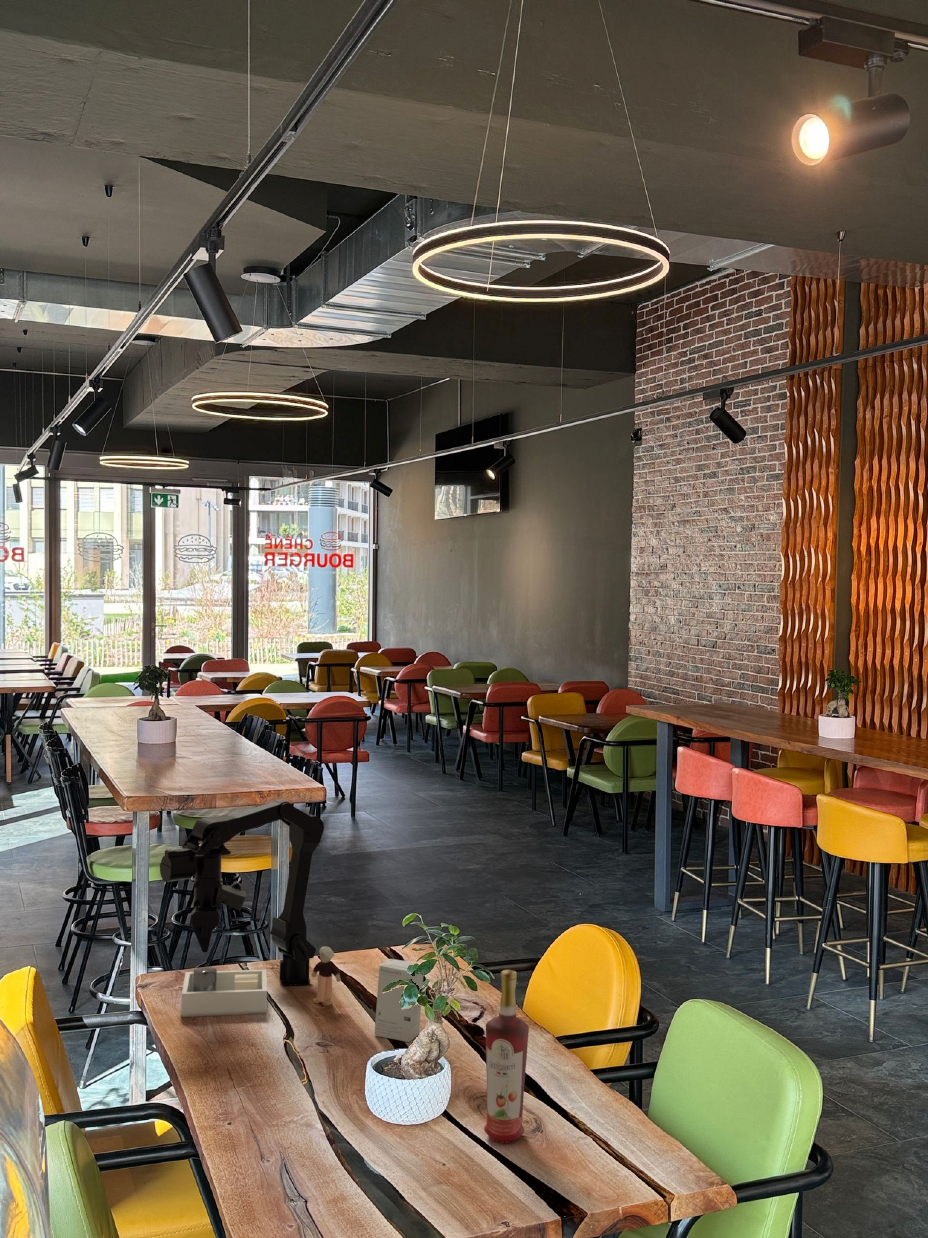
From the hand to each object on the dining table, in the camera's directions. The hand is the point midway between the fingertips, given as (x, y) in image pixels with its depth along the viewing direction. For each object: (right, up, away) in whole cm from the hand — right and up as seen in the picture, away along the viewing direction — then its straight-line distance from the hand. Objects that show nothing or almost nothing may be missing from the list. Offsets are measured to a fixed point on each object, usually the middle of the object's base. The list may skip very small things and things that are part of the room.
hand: (206, 945), depth 243 cm
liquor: (+64, -15, -59) cm, 88 cm away
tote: (+4, -13, -1) cm, 13 cm away
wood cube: (+9, -12, 0) cm, 15 cm away
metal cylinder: (0, -12, -2) cm, 12 cm away
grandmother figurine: (+26, -14, +1) cm, 30 cm away
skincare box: (+44, -14, -16) cm, 49 cm away
